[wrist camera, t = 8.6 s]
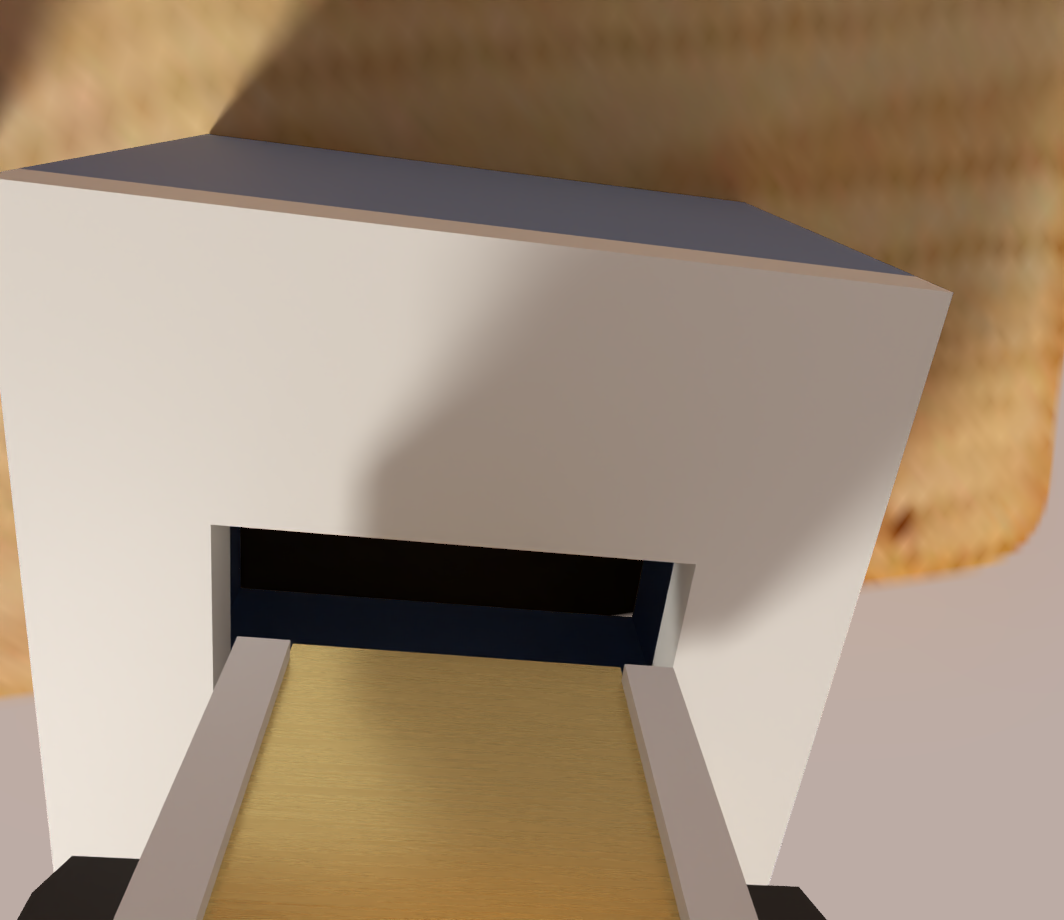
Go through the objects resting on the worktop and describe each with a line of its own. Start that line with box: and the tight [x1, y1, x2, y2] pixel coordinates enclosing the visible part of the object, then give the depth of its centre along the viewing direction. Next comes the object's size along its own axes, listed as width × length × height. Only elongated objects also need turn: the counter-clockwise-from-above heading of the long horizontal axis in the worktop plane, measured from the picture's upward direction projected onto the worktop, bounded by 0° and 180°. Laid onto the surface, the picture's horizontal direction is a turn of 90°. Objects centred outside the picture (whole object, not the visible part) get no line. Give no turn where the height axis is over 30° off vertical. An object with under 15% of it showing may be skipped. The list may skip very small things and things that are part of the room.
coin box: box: [0, 134, 953, 885], centre depth 20 cm, size 14×14×11 cm
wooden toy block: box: [203, 644, 680, 920], centre depth 11 cm, size 5×2×6 cm, turn 83°
